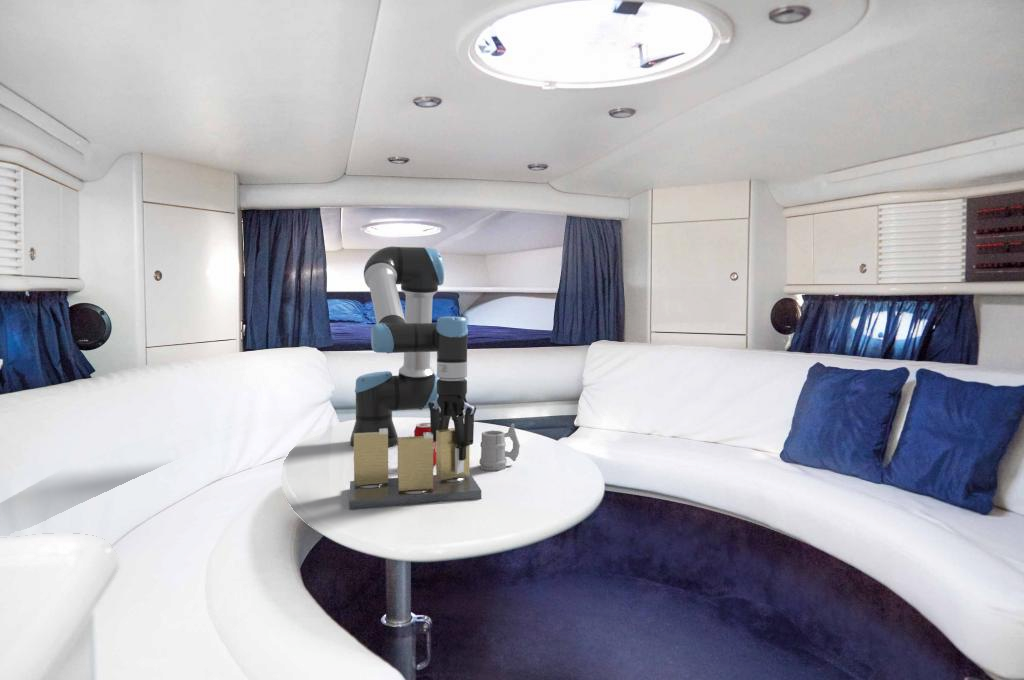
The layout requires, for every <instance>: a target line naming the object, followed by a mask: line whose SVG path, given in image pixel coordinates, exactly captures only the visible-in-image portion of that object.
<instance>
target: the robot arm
mask: <svg viewBox="0 0 1024 680" xmlns="http://www.w3.org/2000/svg"><path fill="white" fill-rule="evenodd" d="M444 267H445V266H444V263H443V258H442V256H441V253H440V252H439V251H438V249H436V248H433V247H432V248H430V247H424V246H423V247H422V246H421V247H419V246H417V247H416V246H388V247H387V246H385V247H382V248H381V249H379V250H377V251H376V252H375V253H373V254H372V255H370V257H369V258H368V260H367V261H366V262H365V265H364V267H363V268H364V269H363V279H364V282H365V285H366V287H368V288H369V291H370V296H371V303H372V307H373V311H374V317H375V321H376V323H374V324H372V325H371V328H370V343H371V349H372V351H373V352H375V353H378V354H379V353H380V354H382V353H383V354H396V353H397V354H398V353H399V354H400V353H401V354H402V353H403V364H402V366H401V367H400V368H399V369H398V375H393V373H392V372H391V371H387V370H386V371H376V372H375V371H374V372H370V373H365V374H362V375H360V376H358V377H357V378H356V379H355V389H354V393H355V422H354V426H353V429H352V431H351V435H350V439H349V440H350V442H349V443H350V446H351V447H353V448H354V433H370V432H379V429H384V428H387V429H388V448H389V447H392V446H395V445H398V433H397V430H396V427H395V424H394V421H393V412H397V411H414V410H415V411H417V410H418V411H421V410H426V409H428V410H429V415H430V417H429V418H430V419H429V420H430V421H429V423H430V427H431V432H432V434H433V441H435V442H436V430H442V429H449V426H450V420H452V421H453V426H454V427H453V428H455V433H456V439H457V445H458V446H456V448H455V474H459V473H461V472H464V460H465V459H466V447H467V446H469V447H470V446H471V445H473V444H474V431H475V430H474V429H475V428H474V427H475V424H474V423H475V414H476V411H477V407H476V406H475V405H470V404H469V403H468V401H467V393H468V380H467V379H466V378H467V377H468V333H469V328H468V320H467V318H466V317H464V316H439V317H438V318H437V320H436V322H432V321H433V317H432V316H433V302H434V301H433V299H434V298H433V297H434V295H435V294H437V293H438V290H439V287H440V286H441V285H443V284H444V281H445V268H444ZM397 285H401V286H400V289H401V292H402V293H403V294H405V307H404V308H405V310H404V311H403V307H402V306H403V305H402V303H401V298H400V295H399V291H398V287H397ZM435 352H436V373H435V369H433V367H432V366H431V365H430V364H431V353H435Z"/></svg>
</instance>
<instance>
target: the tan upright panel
mask: <svg viewBox="0 0 1024 680" xmlns="http://www.w3.org/2000/svg"><path fill="white" fill-rule="evenodd" d="M456 446H458V445H457V439H456V433H455V427H452V428H448V429H442V430H436V465H435V466H436V467H435V468H436V469H435V470H436V471H435V473H436V474H435V475H436V478H438V479H440V480H445V479H451V478H457V477H462V476H468V475H469V473H470V445H469V446H467V447H466V459H465V460H464V472H461V473H459V474H455V448H456Z"/></svg>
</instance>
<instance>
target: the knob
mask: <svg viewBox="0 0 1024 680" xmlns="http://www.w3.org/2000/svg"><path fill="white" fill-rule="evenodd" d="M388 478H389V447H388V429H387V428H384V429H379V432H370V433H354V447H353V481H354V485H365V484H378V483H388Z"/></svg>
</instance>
